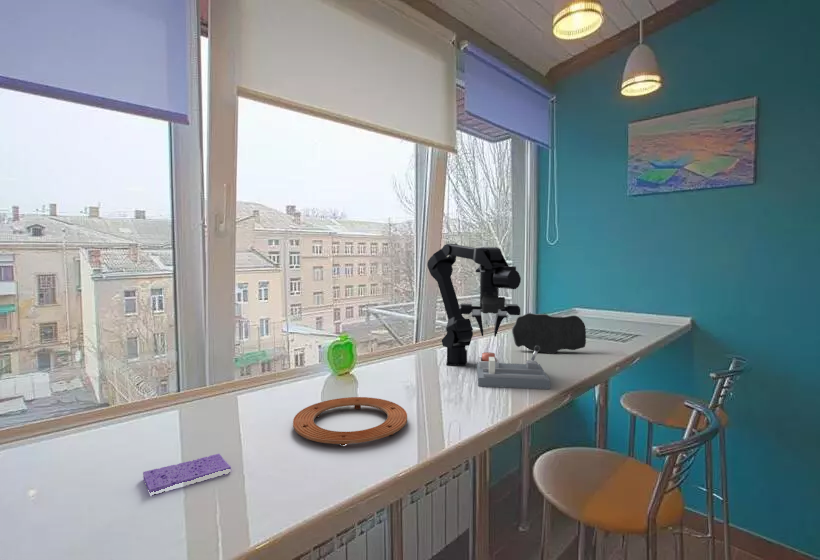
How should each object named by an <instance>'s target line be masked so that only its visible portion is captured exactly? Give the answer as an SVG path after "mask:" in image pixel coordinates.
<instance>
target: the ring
mask: <svg viewBox="0 0 820 560" xmlns="http://www.w3.org/2000/svg"><path fill="white" fill-rule="evenodd" d="M349 406H350V407H351V406H352V407H354V410H361V407H362V406H363V407H371V408H375V409H378V410H380V411H383V412H384V413H385V414H386V415H387V418H386V419H385V421H383V422H382V423H380V424H378V425H376V426H373V427H371V428H367V429H361V430H355V431H354V430H352V431H340V430H339V431H338V430H337V431H336V430H330V429H325V428H322V427H320V426H319V425H317V423H315V419H316V418H319V417H320V416H321V413H324V412H326V411H329V410H331V409H332V410H333V409H337V408H341V407H349ZM318 416H319V417H318ZM407 423H408V413H407V411H406V410H405V409H404V407H403V406H401V405H399V404H398V403H395V402H393V401H391V400H387V399H382V398H376V397H368V396H367V397H366V396H365V397H364V396H350V397H349V396H348V397H342V398H341V397H340V398H332V399H329V400H328V399H327V400H324V401H321V402H317V403H314V404H312V405H309V406H307V407H304V408H303V409H301V410H300V411H298V413H296V414H295V415H294V417H293V419H292V426H293V430H294V431H295V433H297V434H298V435H299V436H301V437H302V438H304V439H306V440H310V441H313V442H318V443H323V444H334V445H339V444H341V445H345V444H347V445H349V444H351V445H352V444H359V443H366V442H371V441H375V440H379V439H383V438H386V437H390V436H389V435H393V434H394V435H395V433H397V432H398V431H400V430H402V429H403V428H404V427H405V426H406V425H407ZM394 435H393V436H394Z"/></svg>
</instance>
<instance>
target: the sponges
mask: <svg viewBox="0 0 820 560" xmlns="http://www.w3.org/2000/svg"><path fill="white" fill-rule="evenodd" d="M226 469H231V470H232V467H231V465H230V464H229V463H228V462H227V460H225V459H224V458H223V457H222V455H221V453H216V454H211V455H209V456H203V457H200V458H197V459H193V460H189V461H183V462H179V463H177V464H171V465H168V466H162V467H160V468H153V469H150V470H145V471H143V472H142V475H143V477H142V478H143V482H144V481H145V482H144V484H145V483H146V485H145V487H146V486H147V488H148V490H149V492H150V493H151V492H153V491H154V492H156V491H159V490H161V489H165V488H167V487H170V486H173V485H175V484H179V483H182V482H187V481H191V480H194V479H196V478H199V477H203V476H205V475H209V474H212V473H215V472H218V471H223V470H226ZM147 488H146V489H147ZM148 490H147V491H148Z"/></svg>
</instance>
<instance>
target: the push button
mask: <svg viewBox="0 0 820 560" xmlns="http://www.w3.org/2000/svg"><path fill="white" fill-rule="evenodd" d="M481 357H482V361H489V357H494V358H496V353H494V352H482V354H481Z"/></svg>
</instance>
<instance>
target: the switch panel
mask: <svg viewBox="0 0 820 560" xmlns="http://www.w3.org/2000/svg"><path fill="white" fill-rule="evenodd" d="M525 362H526V363H512V362H511V363H507V362H506V363H503V362H500V361H499V358H498V357H495V374H489V361H482V356H478V362H476V373H477V375H476V376H477V386H478V387H490V388H491V387H493V388H510V389H511V388H514V389H516V388H517V389H541V390H542V389H544V390H550V389H551V380H550V378H549V376H548V375H547V373H546V371H545V370H544V369H543V367H542V366H541V364H539V363H538V361H537V360H534V361H531V359H530V360H526V361H525Z"/></svg>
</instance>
